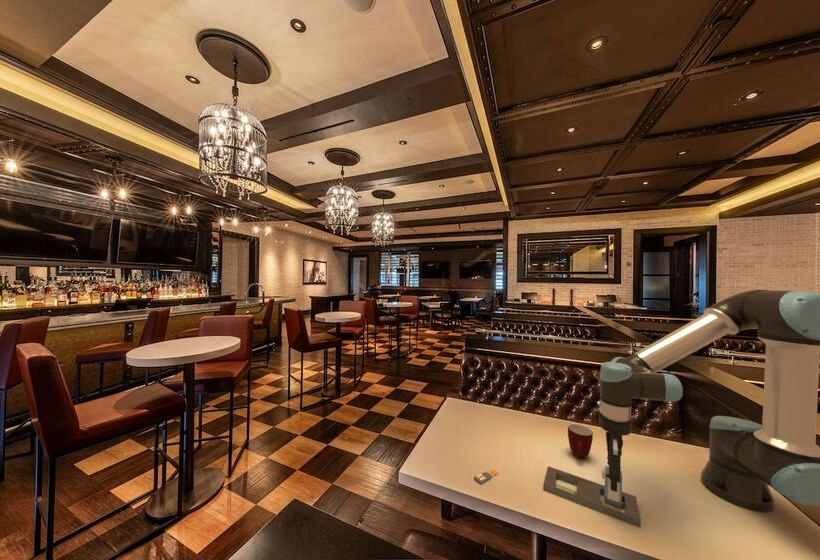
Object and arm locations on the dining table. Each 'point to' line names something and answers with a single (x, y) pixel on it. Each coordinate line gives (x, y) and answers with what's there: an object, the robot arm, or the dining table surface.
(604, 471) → the plug
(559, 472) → the panel
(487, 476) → the key chain
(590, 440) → the mug
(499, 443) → the dining table surface
